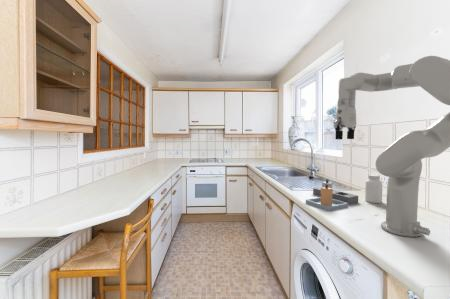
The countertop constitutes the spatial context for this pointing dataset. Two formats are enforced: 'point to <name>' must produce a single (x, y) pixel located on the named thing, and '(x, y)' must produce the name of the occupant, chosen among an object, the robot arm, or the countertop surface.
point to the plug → (326, 195)
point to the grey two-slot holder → (339, 195)
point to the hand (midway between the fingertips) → (344, 139)
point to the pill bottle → (373, 189)
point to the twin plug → (327, 183)
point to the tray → (335, 205)
